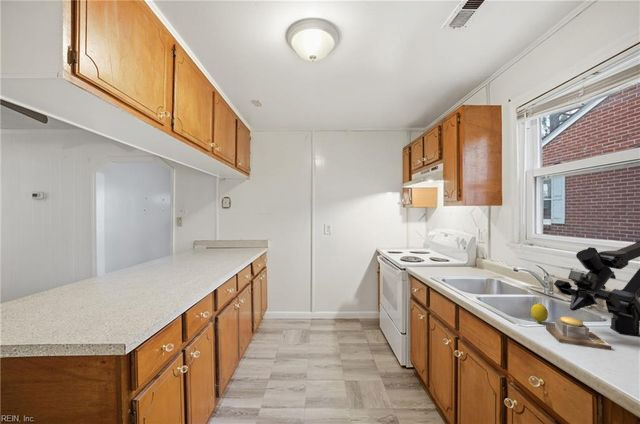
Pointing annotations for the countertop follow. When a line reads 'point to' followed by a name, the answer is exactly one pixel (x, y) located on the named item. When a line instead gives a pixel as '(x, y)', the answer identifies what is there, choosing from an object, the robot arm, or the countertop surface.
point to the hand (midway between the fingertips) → (571, 309)
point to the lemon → (539, 312)
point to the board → (576, 335)
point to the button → (571, 321)
